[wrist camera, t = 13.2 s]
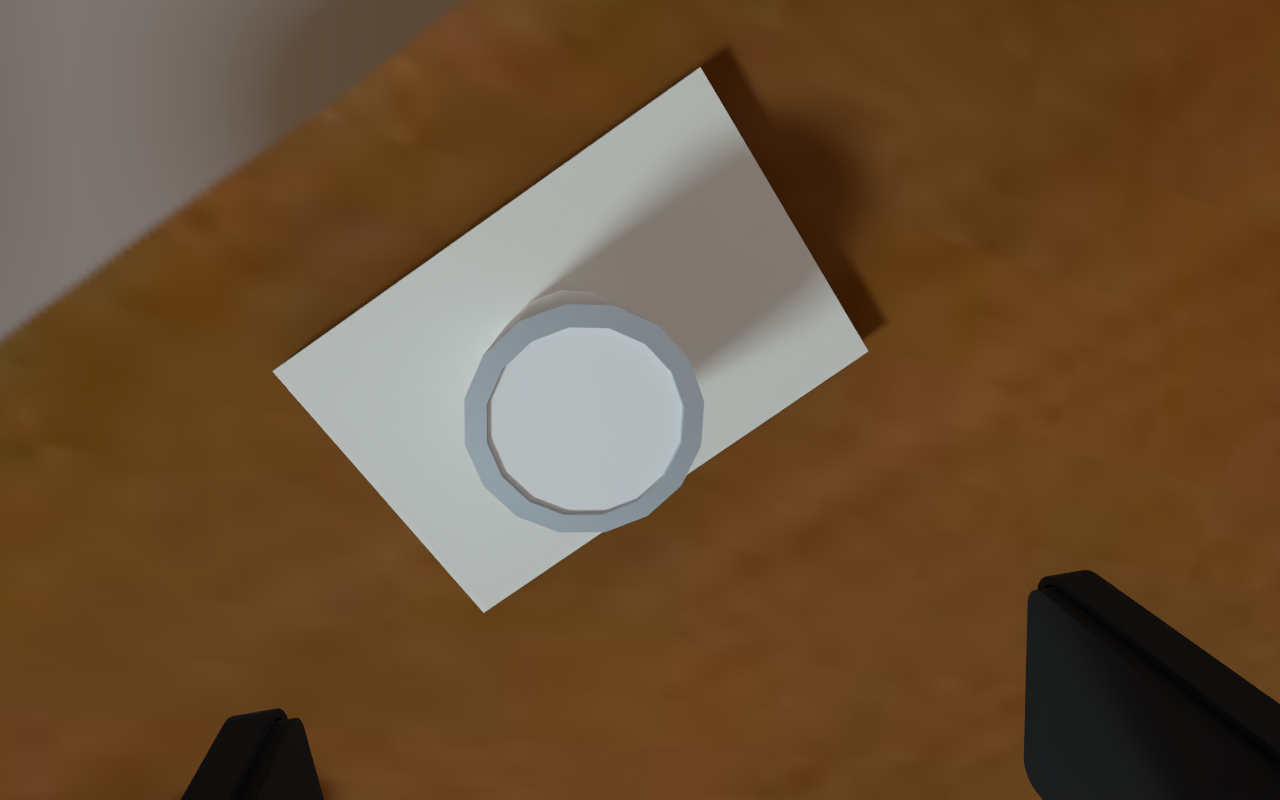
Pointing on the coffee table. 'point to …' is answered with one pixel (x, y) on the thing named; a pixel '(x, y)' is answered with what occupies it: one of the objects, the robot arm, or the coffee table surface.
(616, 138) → the ceramic tile
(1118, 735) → the robot arm
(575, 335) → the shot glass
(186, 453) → the coffee table surface
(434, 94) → the coffee table surface
